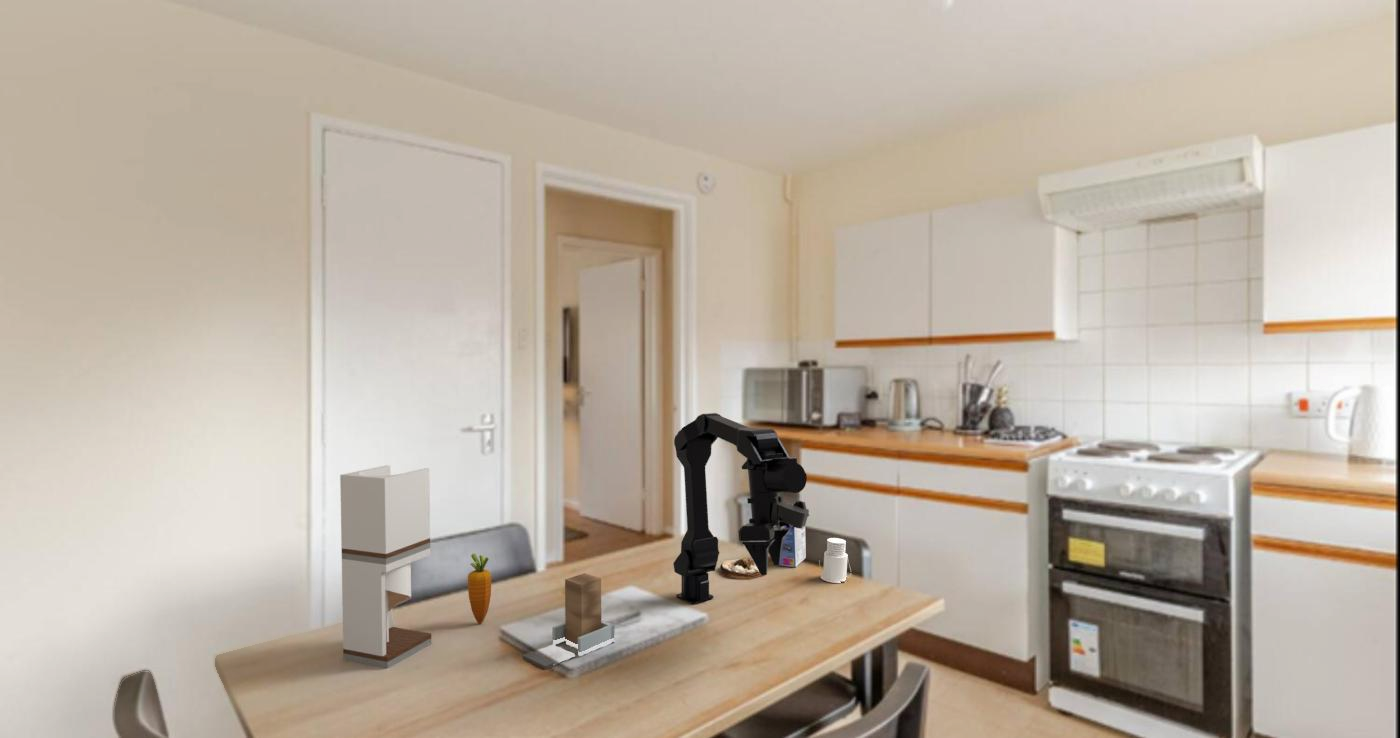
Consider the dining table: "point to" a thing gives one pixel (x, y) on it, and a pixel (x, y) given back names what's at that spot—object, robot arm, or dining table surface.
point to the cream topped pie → (740, 569)
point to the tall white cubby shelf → (381, 560)
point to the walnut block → (582, 606)
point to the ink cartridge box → (793, 547)
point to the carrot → (479, 588)
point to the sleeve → (583, 642)
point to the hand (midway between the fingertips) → (770, 569)
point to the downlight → (835, 561)
